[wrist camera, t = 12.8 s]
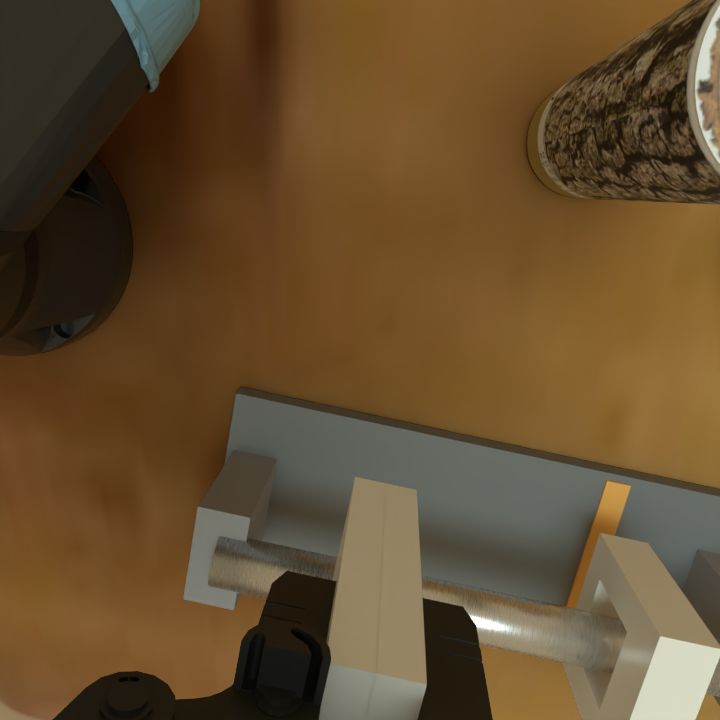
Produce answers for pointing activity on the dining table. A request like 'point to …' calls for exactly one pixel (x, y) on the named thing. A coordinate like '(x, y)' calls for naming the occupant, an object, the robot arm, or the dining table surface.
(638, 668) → the collar
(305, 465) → the pipe stand
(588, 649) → the pipe
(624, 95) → the wooden log
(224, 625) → the dining table surface
